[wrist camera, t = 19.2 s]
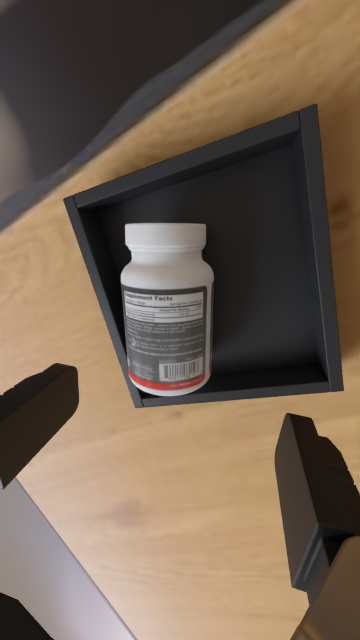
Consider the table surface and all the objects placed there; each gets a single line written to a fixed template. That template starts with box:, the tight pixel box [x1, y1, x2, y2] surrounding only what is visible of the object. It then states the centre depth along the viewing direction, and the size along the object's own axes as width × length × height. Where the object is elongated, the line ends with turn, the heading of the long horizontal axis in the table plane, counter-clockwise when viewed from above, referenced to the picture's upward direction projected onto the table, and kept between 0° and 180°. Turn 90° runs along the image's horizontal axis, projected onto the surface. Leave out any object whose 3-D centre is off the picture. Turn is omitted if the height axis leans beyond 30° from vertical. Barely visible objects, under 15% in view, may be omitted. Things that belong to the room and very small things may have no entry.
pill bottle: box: [121, 223, 214, 396], centre depth 16 cm, size 6×6×10 cm
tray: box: [63, 104, 344, 408], centre depth 17 cm, size 15×16×3 cm
